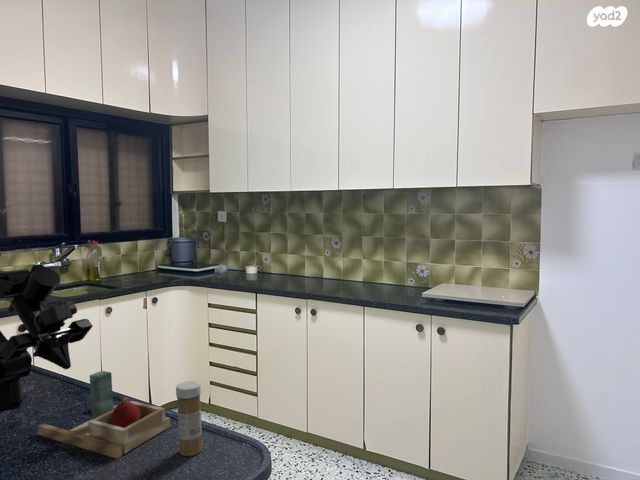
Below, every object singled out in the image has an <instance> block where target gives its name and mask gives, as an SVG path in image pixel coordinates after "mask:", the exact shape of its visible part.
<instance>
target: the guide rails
mask: <svg viewBox="0 0 640 480" xmlns="http://www.w3.org/2000/svg"><path fill="white" fill-rule="evenodd" d="M90 404H91V401H90ZM118 405H119V404H117V405H116V404H113V409H115V408H116V407H117V406H118ZM90 411H92V409H91V408H90ZM170 427H171V418H170V417H167V416H166V429H168V428H170ZM166 429H165V430H166ZM37 435H38V436H41V437H44V438H48V439H50V440H54V441H58V442H60V443H65V444H68V445H71V446H73V447H77V448H81V449H84V450H88V451H90V452H94V453H97V454H100V455H104V456H106V457H110V458H114V459H116V460H118V459H120V458H121V457H123V453H122V446H121V445H118V444H114V443H111V442H107V441H104V440H100V439H97V438H93V437H89V436H86V435H82V434H79V433H75V432H72V431H70V430H68V429H65V428H61V427H57V426H54V425H51V424H47V423H43V422H42V423H41V424H39V425H37Z"/></svg>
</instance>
